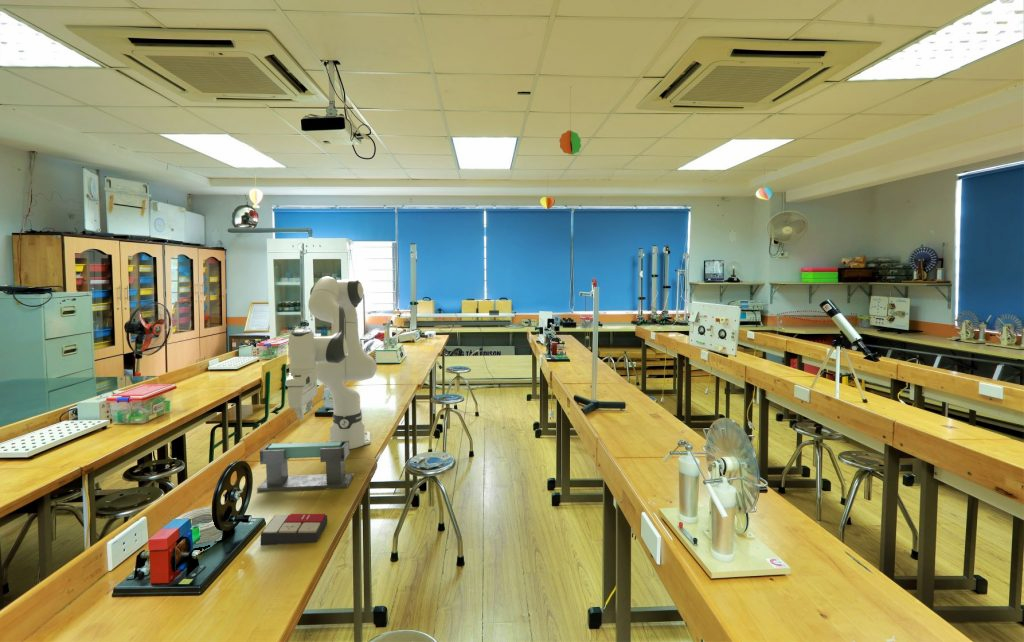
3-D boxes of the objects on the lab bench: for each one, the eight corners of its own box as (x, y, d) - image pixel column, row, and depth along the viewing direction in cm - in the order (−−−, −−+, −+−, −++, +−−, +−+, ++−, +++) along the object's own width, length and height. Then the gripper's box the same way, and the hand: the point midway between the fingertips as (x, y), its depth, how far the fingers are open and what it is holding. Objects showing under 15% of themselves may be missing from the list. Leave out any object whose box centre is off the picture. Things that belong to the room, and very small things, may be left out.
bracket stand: (268, 479, 179) (266, 442, 178) (353, 476, 182) (352, 439, 181) (257, 491, 169) (255, 452, 168) (347, 487, 172) (346, 449, 171)
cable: (196, 560, 129) (194, 537, 128) (147, 548, 134) (146, 527, 134) (250, 527, 145) (249, 507, 145) (205, 518, 151) (204, 499, 150)
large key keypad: (317, 530, 137) (260, 531, 135) (316, 545, 137) (260, 546, 135) (327, 512, 147) (275, 512, 146) (327, 526, 148) (274, 526, 146)
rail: (272, 454, 175) (272, 444, 175) (342, 452, 178) (341, 441, 178) (268, 459, 172) (267, 447, 171) (339, 456, 174) (339, 445, 174)
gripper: (303, 370, 182) (305, 407, 184) (283, 382, 162) (285, 423, 163) (321, 369, 183) (322, 406, 184) (303, 381, 163) (305, 423, 164)
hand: (304, 414), depth 174 cm, fingers open, 8 cm apart
